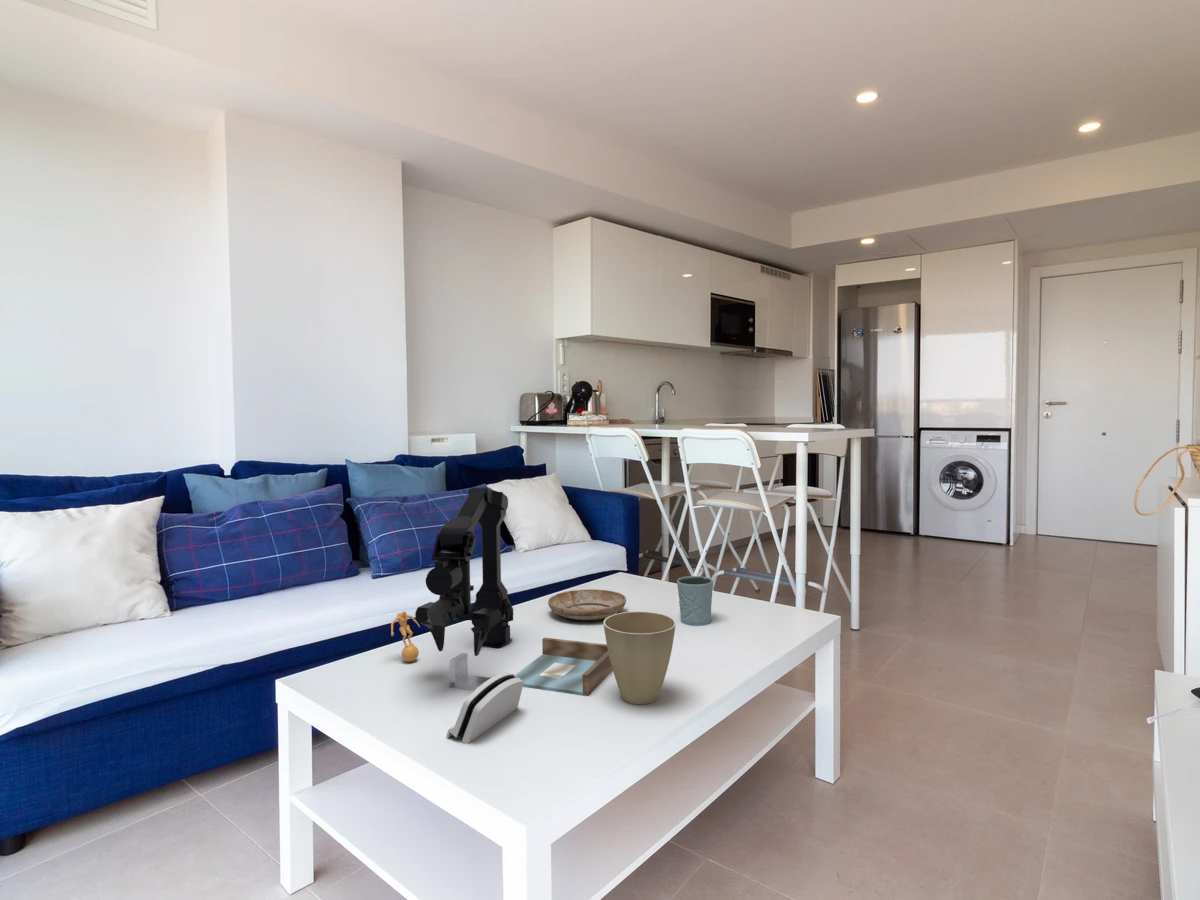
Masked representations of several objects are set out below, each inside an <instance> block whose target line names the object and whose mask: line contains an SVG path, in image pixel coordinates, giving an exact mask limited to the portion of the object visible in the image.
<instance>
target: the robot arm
mask: <svg viewBox="0 0 1200 900" xmlns="http://www.w3.org/2000/svg"><path fill="white" fill-rule="evenodd" d="M467 495H468V496H467V497H466V498H465V501H464V502H463V503H462V506H461V507H460V509H459V511H458V512H457V514H456V516H455V518H452V519H450V520H448V521H446V522H445V523H444V525H443V526H441V528H440V530H439V531H438V532H437V534H436V539H435V542H434V543H435V544H434V546H433V550H432V551H433V552H432V555H431V561H434V567H433V568H432V569H430V570H429V571H428V573H427V575H426V578H425V586H426V587H427V589H428V590H429V592H430V593H431V594H433V595H437V596H439V597H438V600H436V601H434V602H433V601H432V602H431V601H429V602H426V603H425V604H422V605H420V606H418V607H417V608H416V610H415V612H414V619H415V620H416V621H417V622H420V624H421V625H423V626H425V627H426V628H428V630H429V632H430V634H431V635H432V637H433V640H434V643H435V646H436V647H437V650H438V651H439V652H442V651H444V646H445V635H446V634H445V632H446V627H448V626H450V625H451V624H452V622H453V621H458V620H464V621H471V624H472V625H473V626H472V627H471V628H470V630H471V633H473V652H474V653H473V654H474V657H477V656H478V657H479V654H480V652H481V650H482V647H489V648H490V647H491V648H498V649H499V648H502V647H504V646H505V645H507V644H509V643H510V642H512V640H513V638H511V625H510V624H509V622H513V621H514V608H513V605H512V603H511V601H510V599H509V596H508V590H507V588H506V586H505V584H503V582H502V571H501V570H502V568H501V567H502V566H501V565H502V561H501V556H502V555H501V552H502V551H501V524H502V523H503V521H504V520H505V517H506V516H507V509H508V507H509V498H508V496H507V495H506V494H504V492H503V491H497V490H493V489H492V488H491V487H488V486H472V487H470V488H469V489H468V494H467ZM477 524H479V525H480V526H481V556H482V557H481V559H482V560H481V561H482V562H481V563H482V564H481V565H482V567H481V568H482V584H481V586H480V587H479V589H478V591H477V592H476V594H475V601H474V603H471V602H472V601H471V600H472V598H471V597H472V596H471V594H472V593H471V592H472V591H474V587H475V585H472V584H471V562H470V560H471V558H472V557H473V553H474V549H475V545H476V543H477V538H476V535H475V534H476V533H475V528H476V527H477ZM473 609H474V611H472V610H473Z"/></svg>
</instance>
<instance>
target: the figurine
mask: <svg viewBox="0 0 1200 900" xmlns="http://www.w3.org/2000/svg"><path fill="white" fill-rule="evenodd" d="M408 618H409V619H412V621H413V622H414V623H415V624H417V626H418V627H419V628H421V626H420V624H419V623H418V622H419V621H416V620H415V617H413V616H412V615H410V614H407V612H406V611H405V610H404V611H402V612H399V613H397V615H396V616H395V618H394V620H392V621H391V623H390V630H391V631H390V634H391V635H390V636H391V637H393V636H395V635H394V634H395V632H394V624H395V623H396V622H398V623H399V625H400V627H399V632H400V633H401V635H402V636H403V637H402V642H403V645H404V647H403V649H402V650H401V658H402V659H403V661H405V662H407V663H412V662H414V661H415V660H416V659H418V657H419V649H418V647H417V646H416V645H414V643H413V642H412V641H411V638H412V636H413V633H414V632H413V631H412V630H411V628H410V625H409V624H407V623H408ZM407 634H408V636H407ZM406 639H407V641H408V644H407V642H406Z"/></svg>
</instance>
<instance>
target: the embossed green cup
mask: <svg viewBox="0 0 1200 900" xmlns="http://www.w3.org/2000/svg"><path fill="white" fill-rule="evenodd" d="M713 583H714V579H712V578H710V577H707V576H700V575H697V576H696V575H688V576H682V577H679V578H678V579H676V584H677V591H678V593H677V594H678V599H679V600H678V603H679V604H678V605H679V610H680V611H679V614H680V617H679V618H680V622H681V623H682V624H683V625H687V626H694V627H701V626H707V625H709V624H710V623H712V601H713V600H712V598H713V589H714V587H713V586H714V584H713Z"/></svg>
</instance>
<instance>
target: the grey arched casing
mask: <svg viewBox="0 0 1200 900" xmlns="http://www.w3.org/2000/svg"><path fill="white" fill-rule="evenodd" d="M514 676H515V674H513V673H511V672H503V673H501V672H500V673H499V674H497V675H494V676H492V677H489V678H490V679H489V680H487V681H486V682H484V683H483V684H482V685H480V686H479V687H478V688H477V689H476V690H475V691H471V693H470V694H469V695H468V696H467V697H466V698H465V700H464V702H463V703H462V705H461V708H460V712H459V713H458V717H457V720H456V722H455V725H453V726H451V727H449V728H448V730H447V733H446V736H445V738H446V739H450V738H451V737H452V736H454V738H456V739H457V738H458V737H459V738H461V743H464V744H467V745H468V744H469V743H471V742H473V740H474V741H475V739H477V738H478V737H480V736H481V735H482V734H484V733H485V732H486V731H488V730H489V729H491V728H492V727H493V726H495V725H496V724H497V723H499V722H500V721H501V720H503V719H505V718H506V717H507V716H509V715H510V714H511V713H512V712H515V710H517V709H518V708H519V703H520V699H521V694H522V690H523V681H522V680H521V679H520V678H515V677H514Z"/></svg>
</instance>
